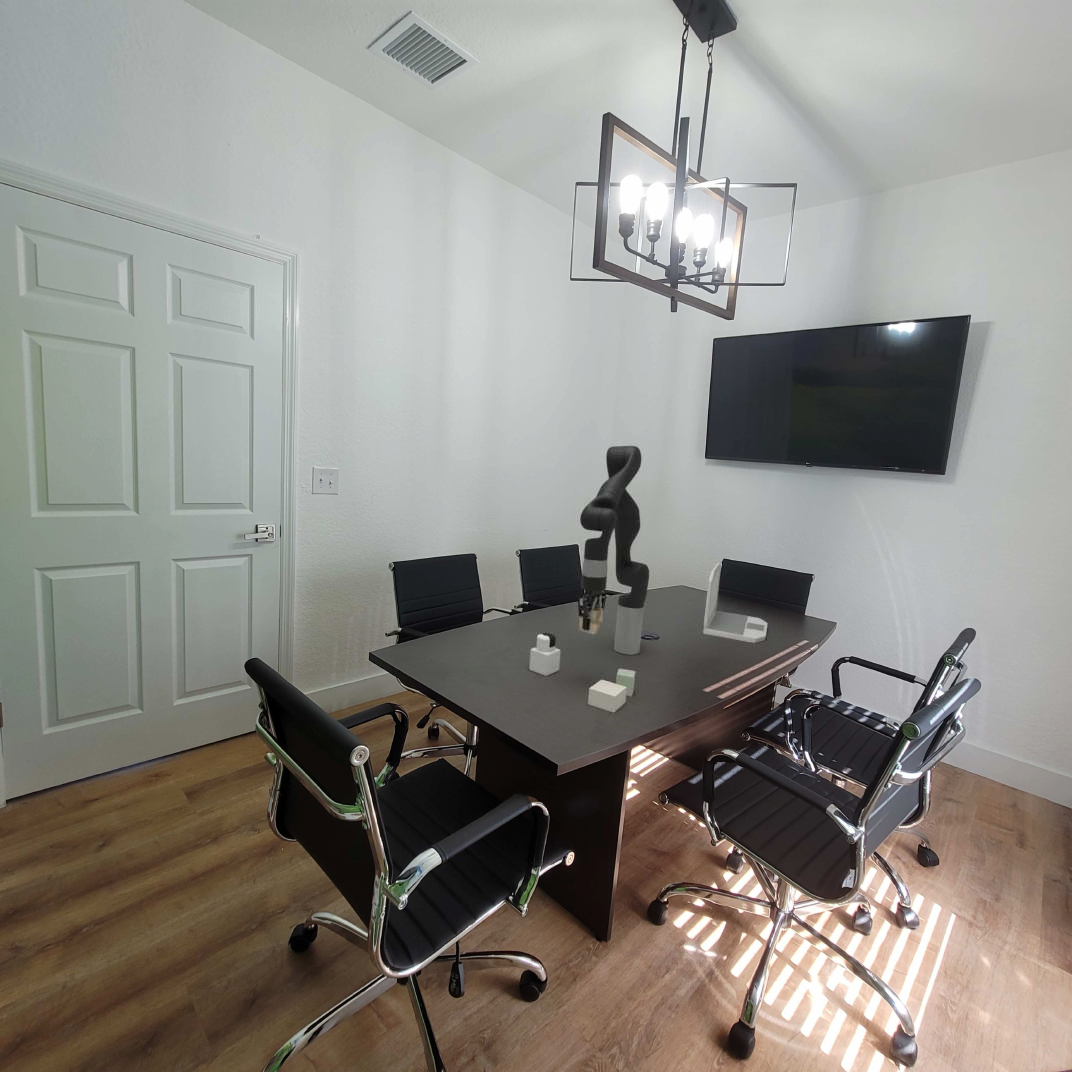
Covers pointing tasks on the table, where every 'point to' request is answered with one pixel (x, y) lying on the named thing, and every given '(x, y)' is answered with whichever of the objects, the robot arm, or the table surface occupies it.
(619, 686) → the cream base block
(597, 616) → the maple block
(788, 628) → the table surface
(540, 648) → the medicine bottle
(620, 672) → the sage block
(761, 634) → the laptop
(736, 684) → the table surface
